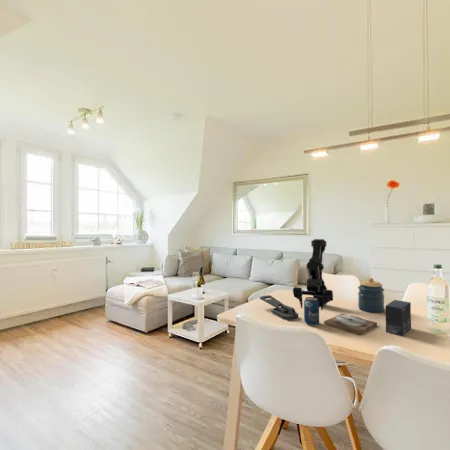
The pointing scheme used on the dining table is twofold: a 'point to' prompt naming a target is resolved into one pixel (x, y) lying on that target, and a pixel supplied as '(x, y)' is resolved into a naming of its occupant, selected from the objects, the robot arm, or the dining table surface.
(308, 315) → the soda can
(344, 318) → the rosette board
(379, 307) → the canister
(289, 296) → the dining table surface
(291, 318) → the zipper pull
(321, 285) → the robot arm
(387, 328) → the small box
